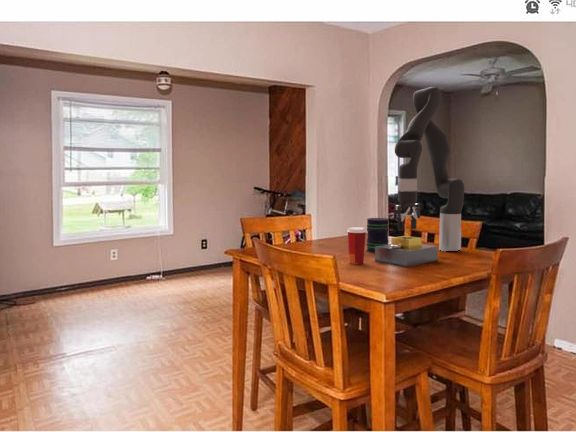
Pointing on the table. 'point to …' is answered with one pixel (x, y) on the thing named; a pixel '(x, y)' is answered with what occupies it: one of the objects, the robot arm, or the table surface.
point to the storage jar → (377, 233)
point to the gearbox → (406, 252)
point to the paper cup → (356, 245)
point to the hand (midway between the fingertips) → (407, 229)
